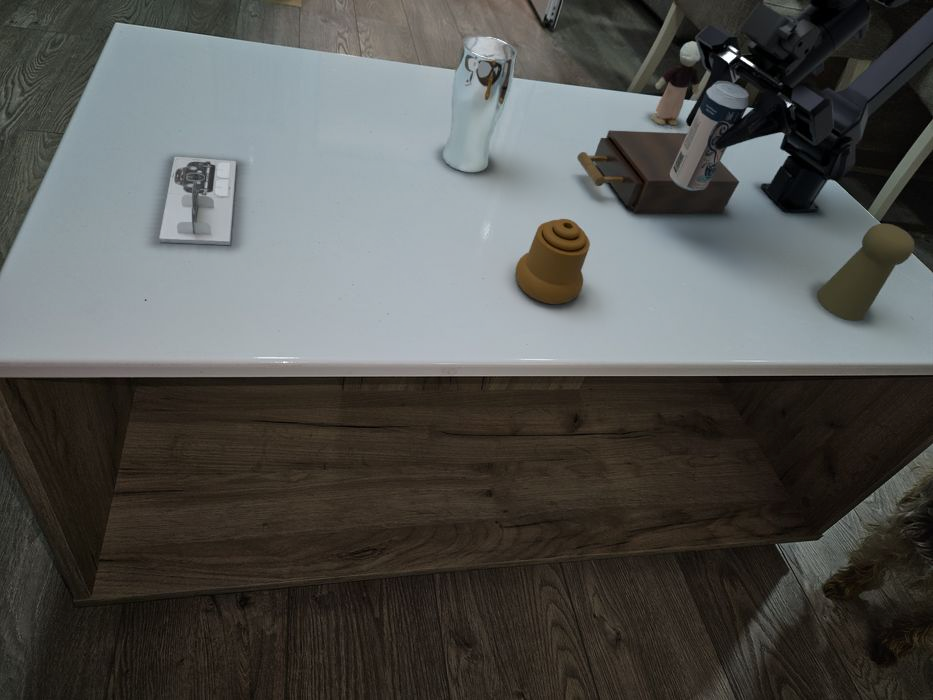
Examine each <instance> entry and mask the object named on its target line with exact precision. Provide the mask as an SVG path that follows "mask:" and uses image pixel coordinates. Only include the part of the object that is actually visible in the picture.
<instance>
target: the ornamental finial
mask: <svg viewBox="0 0 933 700" xmlns="http://www.w3.org/2000/svg"><path fill="white" fill-rule="evenodd" d="M590 247H591V242H590V239H589V238H588V236H587V234H586V233H585V231H584V230H583V229H582V228H581V227H580V226H579V225H578V224H577V222H575V221H574V220H571V219H568V218H559V219H553V220H549V221H546V222H543V223H541V224H540V225H539V226H538V227H537V229H536V232H535V234H534V237H533V240H532V242H531V245H530V247H529V250H528V252H526V253H525V254H524V255H522V256H521V257H520V258H519V260H518V262H517V263H516V266H515V278H516V282H517V284H518V286H519V287H520V288H521V290H522V291H523V292H524V293H525V294H526V295H527V296H529V297H530V298H532V299H534V300H536V301H538V302H541V303H545V304H550V305H560V304H565V303H569V302H570V301H572V300H574V299H575V298H576V297H578V295H580V293H581V291H582V289H583V285H584V276H583V272H582V269H583V267H584V263H585V261H586V258H587V255H588V252H589V251H590V250H589V249H590Z"/></svg>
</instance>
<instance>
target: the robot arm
mask: <svg viewBox="0 0 933 700" xmlns="http://www.w3.org/2000/svg"><path fill="white" fill-rule="evenodd" d="M806 1H807V2H808V3H809V5H808V6H807V7H805V9H804V10H802V11H801V12H800V13H799V14H798V15H797V16H796V17H793V16H791V15H789V14H787V15H786V16H784V15H782V14H781V13H780V12H777V11H776V10H774V9H772V8H771V7H770V6H768V5H765V4H764V3H762V2H758V3H757V4H756V5H755V6H754V8H753V10H752V11H751V12H750V13H749V15H748V16H747V17H746V19H745V20H744V21H743V23H742V24H741V25H740V27H739V28H738V29H737V30H738V32H739V33H740V34H742V35H743V34H744V35H745V36H746V37H747V38H748V39H750V40H751V41H750V42H749V43H748V44H747V51H748V53H749V54H751V57H750V58H747V57H746V56H744V55H743V54H742V53H741V49H740V45H739V41H738V36H736V35H735V34H734V33H731V32H729V30H727V29H725V28H723V27H722V26H721V25H719V24H717V23H714V24H708V25H706V26H705V27H704V28H703V29H702V30H701V31H700V32H699V33H697V35H695V36H694V40H695V42H696V43H697V46H698V50H699V53H700V57H701V58H700V61H701V63H702V67H704V68H705V70H706V71H707V72H708V73H709V77H708V79H707V81H706V84H705V85H704V88H703V89H702V92H701V93H700V95H699V97H698V98H697V100H696V102H695V103H694V105H693V107H692V109H691V111H690V112H689V114H688V116H687V117H686V119H685V124H686V125H687V126H688V127H689V128H690V127H691V124H692V122H693V120H694V118H695V116H696V113H697V111H698V109H699V107H700V105H701V102H702V100H703V98H704V96H705V94H706V91H707V90H708V89H709V88H710V87H712V86H713V85H714V83H716V82H718V81H727V82H730V83H733V84H736V82H737V80H738V79H740V78H741V79H742V80H744V82H747V83H749V84H750V85H751V86H752V87H754V88H755V89H757V90H758V91H760V92H761V93H762V94H761V97H760V98H759V100H758V102H757V103H756V105H755V106H754V107H753V108H752V109H750V110H749V111H748V112H747V113H746V114H745V115H743V116H742V118H741V119H740V120H739V121H738V122H737V123H736V124H734V125H733V126H732V127H731V128H730V129H729V130H727V131H726V132H725V133H724V134H723V135H722V136H721V137H720V138H719V139H718V140H717V141H716V143H715V145H716V148H717V149H723V148H726V147H727V148H729V147H732V146H735V145H738V144H741V143H744V142H748V141H751V140H754V139H757V138H762V137H766V136H771V135H776V134H779V133H782V134H784V135H783V138H782V141H781V144H780V146H779V149H780V150H781V151H783V152H785V153H787V154H788V155H787V157H786V159H785V160H784V162H783V163H782V165H781V166H780V167H779V168H778V170H777V172H776V174H775V175H774V176H773V178H772V180H771V182H770V183H769V182H767V183H765V182H764V183H762V184H761V185H760V188H761V189H762V190H763V191H764V192H765V194H767V195H768V196H769V197H770V198H771V200H772V201H773V202H774V203H775V204H776V205H777V206H778V207H779V208H780V209H781V210H782V211H784V212H786V213H794V212H795V213H796V212H797V213H798V212H799V213H800V212H801V213H802V212H803V213H804V212H806V213H807V212H808V213H809V212H814V213H815V212H819V210H820V207H819V205H817V204H816V202H815V201H816V199H817V197H818V196H819V195H820V193H821V191H822V190H823V188H824V187H825V185H826V183H827V182H828V181H834V182H837V183H838V182H841V181H842V180H843V178H844V177H845V176H846V175H847V174H849V172H850V171H851V170H852V169H853V167H854V166H855V164H856V145H857V144H858V143H859V142H860V141H861V140H862V138H863V135H864V131H865V128H866V125H867V122H868V118H869V117H870V116H871V115H872V114H873V113H874V112H875V111H876V110H878V109H879V108H880V107H881V106H882V105H883V104H884V103H885V102H886V101H887V100H889V99H890V98H891V97H892V96H893V95H894V94H895V93H896V92H897V91H899V89H901V88H902V87H903V86H904V85H905V84H906V83H907V82H909V80H910V79H912V78H913V77H914V76H915V75H916V74H917V73H918V72H920V71H921V69H923V67H925V66H926V65H927V64H928V63H929V62H931V60H933V7H931V8H930V9H929V10H928V11H927V12H925V14H924V15H923V16H922V17H921V18H919V19H918V20H917V21H916V22H915V23H914V24H913V25H911V27H910V28H909V29H907V31H906V32H904V33H903V34H902V35H901V36H900V37H899V38H898V39H897V40H895V42H894V43H893V44H891V46H889V47H888V48H887V49H886V50H885V51H884V52H883V53H882V54H881V55H880V56H879V57H878V58H877V59H876V60H874V61H873V62H872V63H871V64H870V65H868V67H867V68H866V69H864V70H863V71H862V72H861V73H860V74H859V75H858V76H856V78H855V79H854V80H853V81H851V82H850V83H849V84H848V85H847V86H846V87H845V88H844V89H840V90H836V91H835V90H833V89H831V88H830V87H826V88H825V89H820V88H817V87H815V85H813V84H811V83H810V82H802V81H803V80H804V79H805V78H806V77H808V76H809V75H810V74H811V73H812V74H813V75H814V76H818V75H819V74H820V73H822V72H823V71H824V70H825V64H824V63H825V61H826V60H827V59H828V58H830V56H832V55H833V54H834V53H835V52H836V51H837V50H838V49H839V48H841V47H842V46H843V45H844V44H845V43H847V42H848V41H849V40H850V39H851V38H852V37H856V39H859V40H862V39H864V38H865V36H866V35H867V33H868V31H869V25H870V20H871V18H872V16H873V12H872V11H871V1H870V0H806ZM874 1H875V2H877V3H879V4H881V5H884V6H885V7H887V8H889V9H895V8H897V7H900V6H901V5H904V4H906V3H907V2H909V1H910V0H874ZM727 148H726V149H727Z"/></svg>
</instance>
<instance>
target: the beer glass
mask: <svg viewBox="0 0 933 700" xmlns="http://www.w3.org/2000/svg"><path fill="white" fill-rule="evenodd" d="M517 57H518V51H517V49H516V48H515V47H514V46H513V45H512V44H510V43H509V42H507V41H505V40H502V39H500V38H497V37H494V36H490V35H483V34H472V35H468V36H466V37H465V38H463V40H462V44H461V48H460V52H459V55H458V59H457V62H456V66H455V71H454V76H453V82H452V91H451V122H450V123H451V126H450V132H449V135H448V139H447V142H446V143H445V145H444V148H443V152H442V159H443V161H444V162H445V163H446V164H447V165H448V166H450V167H451V168H452V169H455V170H458V171H461V172H464V173H480V172H482V171H484V170H485V169H486V168H487V167H488V166H489V150H490V149H489V148H490V145H491V144H490V142H491V139H492V136H493V134H494V132H495V130H496V127H497V125H498V122H499V120H500V118H501V116H502V113H503V111H504V109H505V107H506V104H507V101H508V100H509V99H508V98H509V96H510V92H511V88H512V84H513V79H514V74H515V67H516V62H517Z"/></svg>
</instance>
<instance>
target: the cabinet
mask: <svg viewBox="0 0 933 700" xmlns="http://www.w3.org/2000/svg"><path fill="white" fill-rule="evenodd" d="M687 133H688V132H687ZM687 133H685V132H659V131H658V132H657V131H633V130H610V129H609V130H608V132H607V134H606V137H605V138H609V139H610V141H611V142H612V143H613V145H614V146H615V144H616V146H617V147H618V148H619V150H620V151H621V152H622V153H623V155H624V156H625V157H626V158H627V160H628V161H629V162H630V164H631V165H632V166H633V167H634V169H635V170H636V171H637V172H638V174H639V175H640V176H641V178H642V179H643V180H644V181H645V184H644V186H643V188H642V190H641V193H640V195H639V197H638V198H637V201H636V203H635V205H634V206H628V207H629V208H630V210H631V211H632V212H633V214H717V213H718V214H721V213H723V212H724V211H725V209H726V207H727V205H728V203H730V200H731V198H732V196H733V194H734V192H735V191H736V189H737V187H738V185H739V184H740V181H739V180H738V178H736V176H735V174H733V173H732V172H731V171H730V170H729V169H728V168H727V166H725V165H724V163H723V162H722V161H720V162H719V164H718V166H717V168H716V170H715V172H714V174H713V176H712V178H711V180H710V182H709V184H708V186H707V187H706V188H705V189H703V190H697V191H691V190H686V189H684V188H682V187H680V186H678V185H677V184H676V183H675V182H674V181H673V180H672V178H671V176H670V171H671V168H672V166H673V164H674V162H675V160H676V157H677V155H678V153H679V151H680V149H681V146H682V144H683V142H684V140H685V138H686V135H687Z"/></svg>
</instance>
